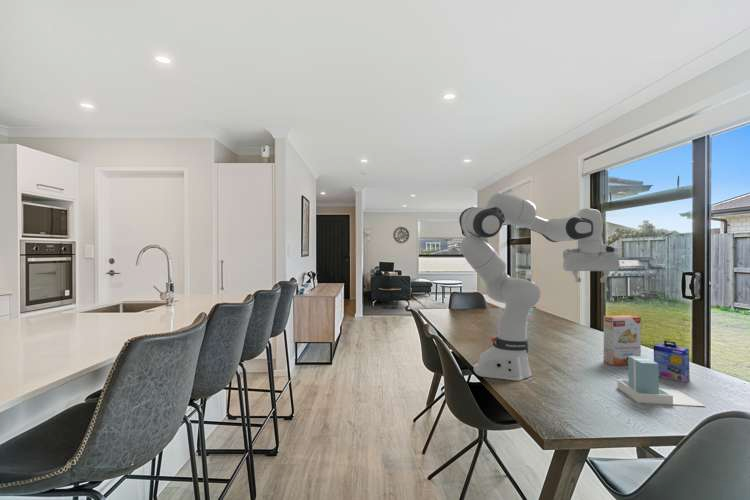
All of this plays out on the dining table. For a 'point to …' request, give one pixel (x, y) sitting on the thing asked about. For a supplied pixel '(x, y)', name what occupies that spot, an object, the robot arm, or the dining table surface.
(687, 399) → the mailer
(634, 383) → the gift box
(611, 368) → the dining table surface
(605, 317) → the cracker box
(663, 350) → the ink cartridge box
